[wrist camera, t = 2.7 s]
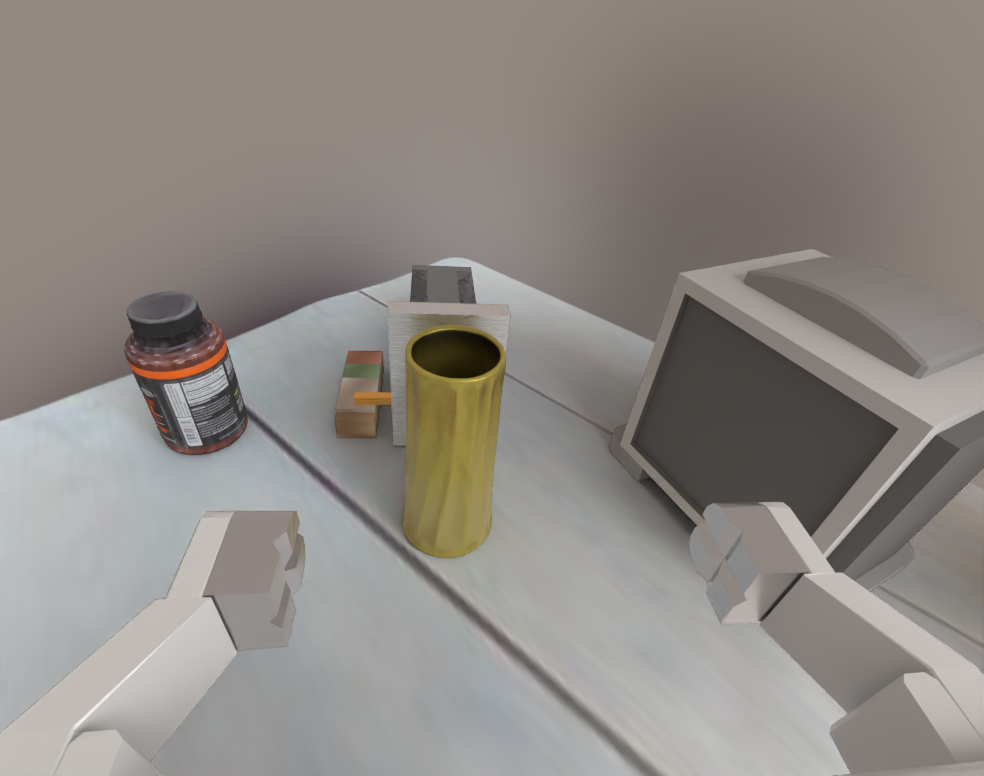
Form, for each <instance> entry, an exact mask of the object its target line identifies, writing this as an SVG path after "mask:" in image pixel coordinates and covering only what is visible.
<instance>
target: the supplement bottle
mask: <svg viewBox="0 0 984 776" xmlns="http://www.w3.org/2000/svg"><path fill="white" fill-rule="evenodd" d="M127 316H128V318H129V321H130V324H131V328H132V330H133V331H134V332H133V333H132V334H131V335H130V336H129V338H128V339H127V341H126V344H125V350H124V352H125V354H126V358H127V360H128V362H129V365H130V367H131V368H132V372H133V374H134V376H135V378H136V381H137V383H138V385H139V388H140V390H141V391H142V393H143V396H144V398H145V400H146V402H147V404H148V407H149V409H150V411H151V414H152V416H153V418H154V420H155V422H156V425H157V428H158V430H159V431H160V434H161V436H162V438H163V439H164V440H165V442H166V444H167V445H168V446H169V447H170V448H171V449H173V450H175V451H177V452H179V453H182V454H190V455H194V454H196V455H197V454H206V453H211V452H215V451H217V450H220V449H222V448H224V447H227V446H228V445H230V444H231V443H233V442H234V441H236V440H237V439H238V438H239V437H240V436H241V434H242V433H243V432H244V430H245V428H246V425H247V414H246V409H245V406H244V402H243V399H242V395H241V392H240V388H239V385H238V381H237V378H236V374H235V371H234V368H233V364H232V361H231V357H230V354H229V350H228V347H227V345H226V341H225V338H224V335H223V333H222V331H221V329H220V328H219V327H218V326H217V324H215V323H214V322H213V321H210V320H209V319H206V318H203V317H202V312H201V311H200V309H199V306H198V303H197V300H196V299H195V298H194V297H193V296H192V295H190V294H187V293H183V292H175V291H171V292H170V291H168V292H159V293H155V294H151V295H147V296H144V297H142V298H139V299H138V300H136V301H134V302H133V303H132V304H130V306H129V307H128V309H127Z"/></svg>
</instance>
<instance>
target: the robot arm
mask: <svg viewBox="0 0 984 776" xmlns="http://www.w3.org/2000/svg"><path fill="white" fill-rule="evenodd" d="M703 517H704V519H705V521H704V522H702V523H701V524H699V525H698V526H696V527H695V528H694V530H693V532H692V534H691V536H690V544H689V551H690V555H691V560H692V562H693V565H694V567H695V569H696V572H697V573H698V574H700V575H701V576H702V577H703V578H704V579H705V580H707V581H708V586H707V590H706V594H707V596H708V598H709V600H710V602H711V604H712V606H713V609H714V611H715V613H716V615H717V617H718V619H719V622H720V624H739V623H761V624H760V626H761V627H762V628H763V629H764V630H765V631H766V632H767V633H768V634H769V635H770V636H771V637H772V638H773V639H774V640H775V641H776V642H777V643H778V644H779V645H780V646H781V647H782V648H783V649H784V650H785V651H786V652H787V653H788V654H789V655H790V656H791V657H792V658H793V659H794V660H795V661H796V662H797V663H798V664H799V665H800V666H801V667H802V668H803V669H804V670H805V671H806V672H807V673H808V674H809V675H810V676H811V677H812V678H813V679H814V680H815V681H816V682H817V683H818V684H819V685H820V686H821V687H822V688H823V689H824V690H825V691H826V692H827V693H828V694H829V695H830V696H831V697H832V698H833V699H834V700H835V701H836V702H837V703H838V704H839V705H840V706H841V707H842V708H843V709H844V710H845V711H846V712H847V713H848V714H847V715H845V716H844V717H843V718H841V719H840V720H838V721H837V722H836V723H834V724H833V725H832V726H831V729H830V732H829V733H830V735H831V737H832V739H833V741H834V743H835V745H836V747H837V749H838V750H839V752H840V754H841V756H842V758H843V760H844V762H845V764H846V766H847V768H848V769H849V771H850V773H851V774H844V775H834V776H984V675H983V673H982V672H981V671H980V670H979V668H978V667H977V666H975V665H974V664H972V663H971V662H970V661H968V660H967V659H965V658H964V657H962V656H961V655H960V654H958V653H957V652H955V651H954V650H952V649H951V648H950V647H948V646H947V645H945V644H944V643H942V642H941V641H940V640H938V639H937V638H935V637H934V636H932V635H931V634H930V633H928V632H927V631H925V630H924V629H922V628H921V627H920V626H918V625H917V624H915V623H914V622H912V621H911V620H910V619H908V618H907V617H905V616H904V615H902V614H901V613H900V612H898V611H897V610H895V609H894V608H892V607H891V606H889V605H888V604H887V603H885V602H884V601H882V600H881V599H879V598H878V597H877V596H875V595H874V594H872V593H871V592H869V591H868V590H867V589H865V588H864V587H862V586H861V585H859V584H858V583H857V582H855V581H854V580H852V579H851V578H849V577H848V576H847V575H845V574H844V573H842V572H835V571H834V570H833V568H832V567H831V566H830V564H829V563H828V561H827V560H826V558H825V557H824V556H823V554H822V553H821V551H820V550H819V548H818V547H817V546H816V544H815V543H814V541H813V540H812V538H811V537H810V536H809V534H808V533H807V531H806V530H805V528H804V527H803V526H802V524H801V523H800V521H799V520H798V518H797V517H796V516H795V514H794V513H793V511H792V510H791V508H790V507H789V506H787V505H786V504H785V503H783V502H758V503H757V502H732V503H712V504H711V505H709V506H707V507H706V509H705V511H704V512H703ZM299 523H300V522H299V518H298V514H297V511H207V512H206V513H205V514H204V515H203V517H202V518H201V519H200V520H199V522H198V525H197V527H196V529H195V532H194V534H193V536H192V538H191V541H190V543H189V545H188V548H187V550H186V552H185V554H184V557H183V559H182V561H181V564H180V566H179V568H178V571H177V573H176V575H175V577H174V580H173V582H172V584H171V587H170V589H169V591H168V593H167V596H166V598H163V599H155V600H154V601H153V602H152V603H151V604H149V605H148V606H147V607H146V608H145V609H144V610H142V611H141V612H140V613H139V614H138V615H137V616H136V617H134V618H133V619H132V620H131V621H130V622H129V623H127V624H126V625H125V626H124V627H123V628H122V629H120V630H119V631H118V632H117V633H116V634H115V635H113V636H112V637H111V638H110V639H109V640H108V641H107V642H105V643H104V644H103V645H102V646H101V647H100V648H98V649H97V650H96V651H95V652H94V653H93V654H91V655H90V656H89V657H88V658H87V659H86V660H84V661H83V662H82V663H81V664H80V665H79V666H78V667H76V668H75V669H74V670H73V671H72V672H71V673H69V674H68V675H67V676H66V677H65V678H64V679H62V680H61V681H60V682H59V683H58V684H57V685H55V686H54V687H53V688H52V689H51V690H50V691H49V692H47V693H46V694H45V695H44V696H43V697H42V698H40V699H39V700H38V701H37V702H36V703H35V704H33V705H32V706H31V707H30V708H29V709H28V710H26V711H25V712H24V713H23V714H22V715H21V716H20V717H18V718H17V719H16V720H15V721H14V722H13V723H11V724H10V725H9V726H8V727H7V728H6V729H4V730H3V731H2V732H1V733H0V776H164V775H163V774H162V773H161V772H160V771H159V770H158V769H157V768H156V767H154V766H153V765H152V764H151V763H150V762H151V760H152V759H153V758H154V757H155V755H156V754H157V753H158V752H159V750H160V749H161V748H162V747H163V746H164V744H165V743H166V742H167V741H168V739H169V738H170V737H171V736H172V734H173V733H174V732H175V731H176V729H177V728H178V727H179V726H180V724H181V723H182V722H183V721H184V720H185V718H186V717H187V716H188V715H189V713H190V712H191V711H192V710H193V708H194V707H195V706H196V705H197V703H198V702H199V701H200V700H201V698H202V697H203V696H204V695H205V694H206V692H207V691H208V690H209V689H210V687H211V686H212V685H213V684H214V682H215V681H216V680H217V679H218V677H219V676H220V675H221V674H222V672H223V671H224V670H225V669H226V667H227V666H228V665H229V664H230V663H231V661H232V660H233V659H234V658H235V656H236V655H237V651H239V650H252V649H264V648H277V647H288V644H289V639H290V635H291V630H292V626H293V621H294V616H295V612H296V609H295V605H294V601H293V597H292V596H293V595H294V594H295V592H296V591H297V590H298V589H299V588H300V587H301V584H302V579H303V574H304V565H305V544H304V539H303V537H302V536H301V535H300V534H298V533H297V532H298V527H299Z"/></svg>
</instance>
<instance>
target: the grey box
mask: <svg viewBox="0 0 984 776" xmlns="http://www.w3.org/2000/svg"><path fill="white" fill-rule="evenodd" d="M609 450H610V453H611V454H612V455H613V456H614V457H615V458H616V459H617V460H618V462H619V463H620V464H621V465H622V466H623V467H624V468H625V469H626V470H627V471H628V472H629V473H630V475H631V476H632V477H633V478H634V479H635V480H636V481H637V482H639V481H641V480H644V479H646V478H649V477H651V478H652V479H653V480H654V481H655V482H656V483H657V484H658V485H659V486H660V487H661V488H662V489H663V490H664V491H665V492H666V493H667V494H668V496H669V497H670V498H671V499H672V500H673V501H674V502H675V503H676V504H677V505H678V506H679V507H680V508H681V509H682V510H683V511H684V512H685V513H686V514H687V515H688V516H689V517H690V519H691V520H692V521H693V522H694V523H695V524H696V525H697V526H698V525H699V524H701V523H702V522H704V521H705V519H704V517H703V512H704V511H705V509H706V507H707V506H709V505H711V504H712V503H732V502H757V503H758V502H783V503H785V504H786V505H787V506H789V507H790V508H791V510H792V511H793V513H794V514H795V516H796V517H797V518H798V520H799V521H800V523H801V524H802V526H803V527H804V528H805V530H806V531H807V533H808V534H809V536H810V537H811V538H812V540H813V541H814V543H815V544H816V546H817V547H818V548H819V550H820V551H821V553H822V554H823V556H824V557H825V558H826V560H827V561H828V563H829V564H830V566H831V567H832V568H833V570H834V571H835V572H842V573H844V574H845V575H847V576H848V577H849V578H851V579H852V580H854V581H855V582H857V583H858V584H859V585H861V586H862V587H864V588H865V589H867V590H868V591H869V592H871V591H872V590H874V589H875V588H876V587H878V586H879V585H881V584H882V583H884V582H885V581H887V580H888V579H890V578H891V577H893V576H894V575H895V574H897V573H898V572H900V571H901V570H902V569H903V568H904V567H906V566H907V565H908V564H909V563H910V562H911V561H912V560H913V559H914V558H915V557H914V549H913V548H912V546H911V545H910V543H909V542H908V541H909V540H910V539H911V538H912V537H913V536H914V535H915V534H916V533H917V532H919V531H920V530H921V529H922V528H923V527H924V526H925V525H926V524H927V523H928V522H929V521H930V520H931V519H932V518H933V517H934V516H935V515H936V514H937V513H938V512H939V511H940V510H941V509H942V508H943V507H944V506H945V505H946V504H947V503H948V502H949V501H950V500H951V499H952V498H953V497H954V496H955V495H956V494H957V493H958V492H960V491H961V490H962V489H963V488H964V487H965V486H966V485H967V484H968V483H969V482H970V481H971V480H972V479H973V478H974V477H975V476H976V475H977V474H978V473H979V472H980V471H981V470H982V469H983V468H984V325H983V324H982V323H981V322H980V321H978V320H977V319H976V318H975V317H974V316H973V315H971V314H970V313H969V312H968V311H967V310H965V309H964V308H962V307H961V306H959V305H958V304H956V303H955V302H953V301H952V300H950V299H949V298H947V297H946V296H945V295H943V294H941V293H940V292H939V291H936V290H935V289H933V288H931V287H929V286H927V285H925V284H923V283H921V282H919V281H917V280H915V279H913V278H912V277H910V276H907V275H904V274H901V273H898V272H895V271H892V270H889V269H887V268H884V267H881V266H877V265H873V264H868V263H864V262H859V261H854V260H849V259H839V258H831V257H829V256H827V255H825V254H823V253H820V252H818V251H816V250H814V249H810V250H804V251H799V252H793V253H788V254H783V255H777V256H771V257H766V258H760V259H754V260H749V261H743V262H738V263H732V264H727V265H722V266H716V267H710V268H705V269H700V270H694V271H688V272H682V273H679V276H678V279H677V282H676V285H675V288H674V290H673V293H672V296H671V299H670V302H669V305H668V308H667V311H666V313H665V316H664V319H663V322H662V325H661V328H660V331H659V333H658V336H657V339H656V342H655V345H654V348H653V351H652V354H651V356H650V359H649V362H648V365H647V368H646V371H645V374H644V377H643V380H642V382H641V385H640V388H639V391H638V394H637V397H636V400H635V403H634V406H633V408H632V411H631V414H630V417H629V420H628V423H627V424H625V425H622V426H619V427H617V428H616V429H615V431H614V432H613V435H612V438H611V441H610V444H609Z"/></svg>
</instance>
